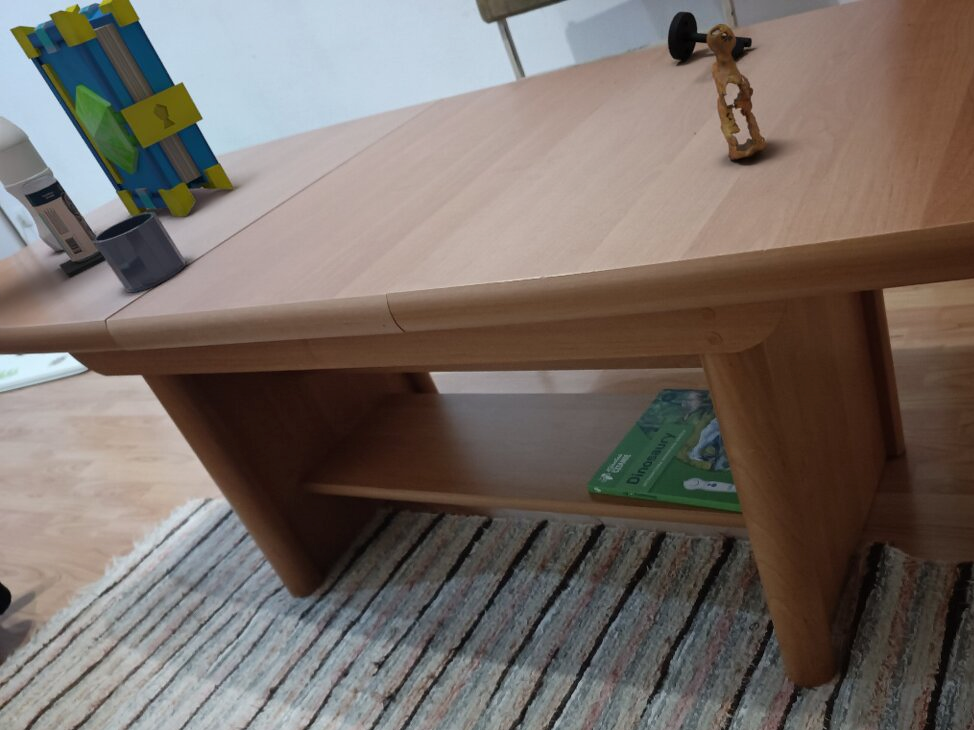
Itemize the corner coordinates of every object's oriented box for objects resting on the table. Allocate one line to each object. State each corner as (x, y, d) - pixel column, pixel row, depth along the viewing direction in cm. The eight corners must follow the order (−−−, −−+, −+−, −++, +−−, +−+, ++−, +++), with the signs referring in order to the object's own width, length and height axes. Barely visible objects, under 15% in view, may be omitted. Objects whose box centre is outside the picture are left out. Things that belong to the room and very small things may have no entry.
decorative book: (177, 223, 132) (47, 15, 114) (114, 221, 146) (-9, 36, 129) (251, 181, 139) (141, -21, 122) (185, 183, 154) (77, 3, 136)
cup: (133, 297, 108) (98, 246, 104) (121, 285, 114) (87, 237, 110) (192, 266, 111) (161, 215, 107) (177, 256, 117) (146, 208, 113)
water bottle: (59, 256, 138) (-55, 99, 124) (46, 252, 143) (-64, 101, 129) (100, 234, 141) (-5, 79, 127) (87, 231, 146) (-16, 82, 132)
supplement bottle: (110, 248, 129) (58, 171, 123) (83, 264, 127) (28, 186, 120) (95, 248, 132) (43, 173, 125) (67, 264, 129) (13, 188, 122)
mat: (70, 277, 125) (67, 273, 125) (61, 268, 131) (59, 264, 131) (122, 251, 128) (119, 247, 128) (112, 243, 134) (109, 240, 134)
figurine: (776, 138, 85) (753, 8, 78) (764, 162, 81) (738, 28, 74) (731, 146, 87) (704, 20, 80) (717, 170, 83) (687, 40, 76)
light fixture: (711, 49, 105) (760, 10, 111) (637, 41, 110) (688, 4, 117) (714, 97, 109) (760, 57, 116) (642, 88, 114) (691, 49, 121)
